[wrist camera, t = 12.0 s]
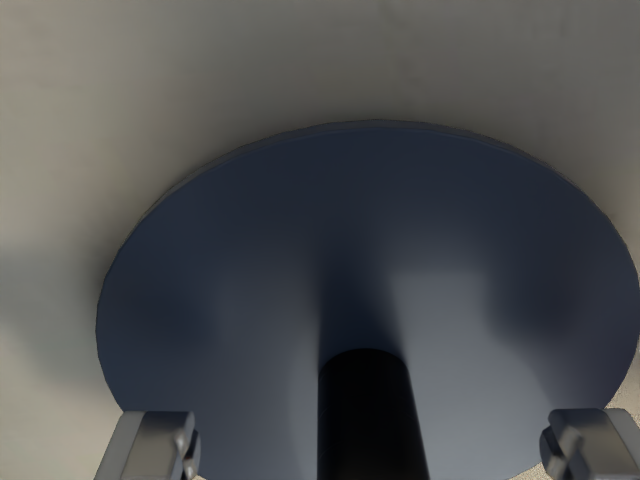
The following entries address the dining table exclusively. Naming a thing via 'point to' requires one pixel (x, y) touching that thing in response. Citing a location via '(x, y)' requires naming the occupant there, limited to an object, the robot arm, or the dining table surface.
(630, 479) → the robot arm
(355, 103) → the dining table surface
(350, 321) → the lid
